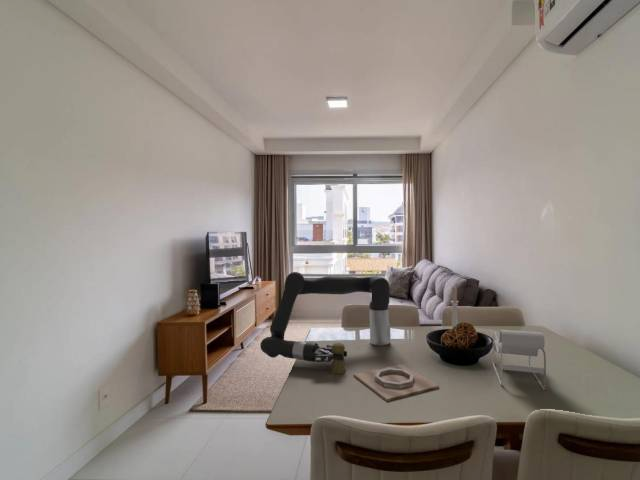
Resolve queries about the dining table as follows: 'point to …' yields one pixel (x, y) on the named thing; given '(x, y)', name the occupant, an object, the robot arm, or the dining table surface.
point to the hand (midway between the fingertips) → (344, 355)
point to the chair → (520, 350)
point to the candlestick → (454, 307)
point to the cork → (338, 365)
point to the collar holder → (395, 382)
